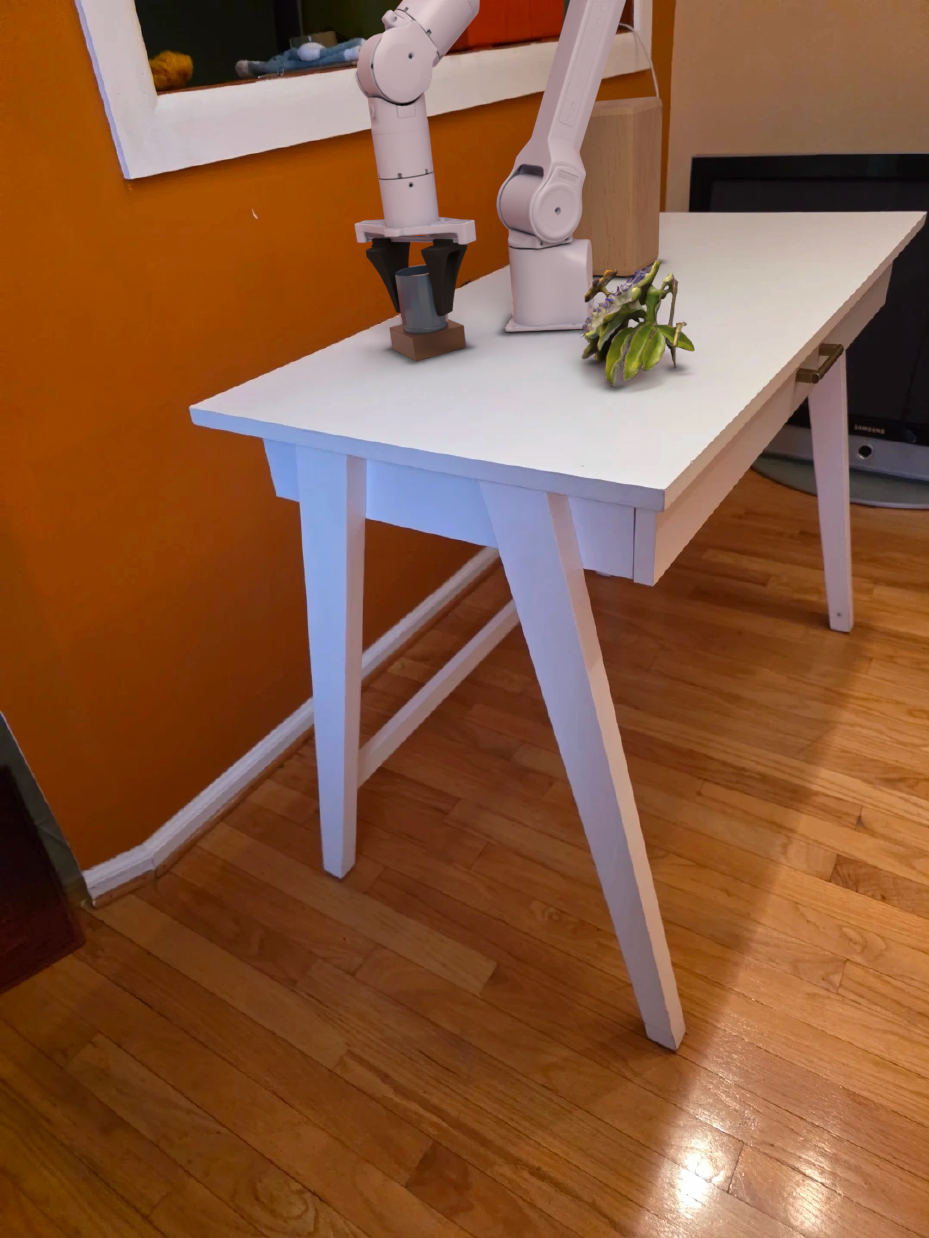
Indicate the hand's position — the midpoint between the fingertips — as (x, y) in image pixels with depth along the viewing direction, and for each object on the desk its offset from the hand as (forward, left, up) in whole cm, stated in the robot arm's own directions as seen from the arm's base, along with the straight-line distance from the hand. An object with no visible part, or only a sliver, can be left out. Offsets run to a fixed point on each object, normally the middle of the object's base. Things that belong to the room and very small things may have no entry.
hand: (423, 312), depth 91 cm
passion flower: (-24, +8, -4) cm, 26 cm away
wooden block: (-18, -34, -4) cm, 38 cm away
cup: (0, 0, -2) cm, 2 cm away
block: (0, 0, -4) cm, 4 cm away
